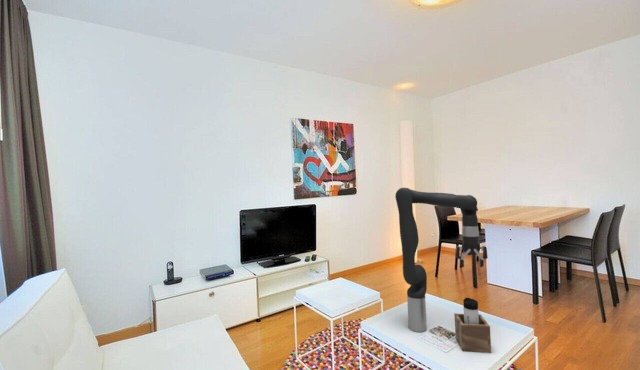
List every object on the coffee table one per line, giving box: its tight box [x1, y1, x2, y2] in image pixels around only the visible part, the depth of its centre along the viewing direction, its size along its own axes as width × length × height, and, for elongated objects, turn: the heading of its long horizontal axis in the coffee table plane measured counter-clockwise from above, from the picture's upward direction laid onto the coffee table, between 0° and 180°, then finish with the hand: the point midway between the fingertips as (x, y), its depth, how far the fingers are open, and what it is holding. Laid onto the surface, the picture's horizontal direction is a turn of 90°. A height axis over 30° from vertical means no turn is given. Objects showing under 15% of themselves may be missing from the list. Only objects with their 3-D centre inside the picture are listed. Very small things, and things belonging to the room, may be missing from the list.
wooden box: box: [453, 313, 492, 354], centre depth 138 cm, size 12×12×12 cm
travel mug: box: [463, 297, 480, 324], centre depth 139 cm, size 6×7×20 cm
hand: (471, 266), depth 148 cm, fingers open, 8 cm apart
